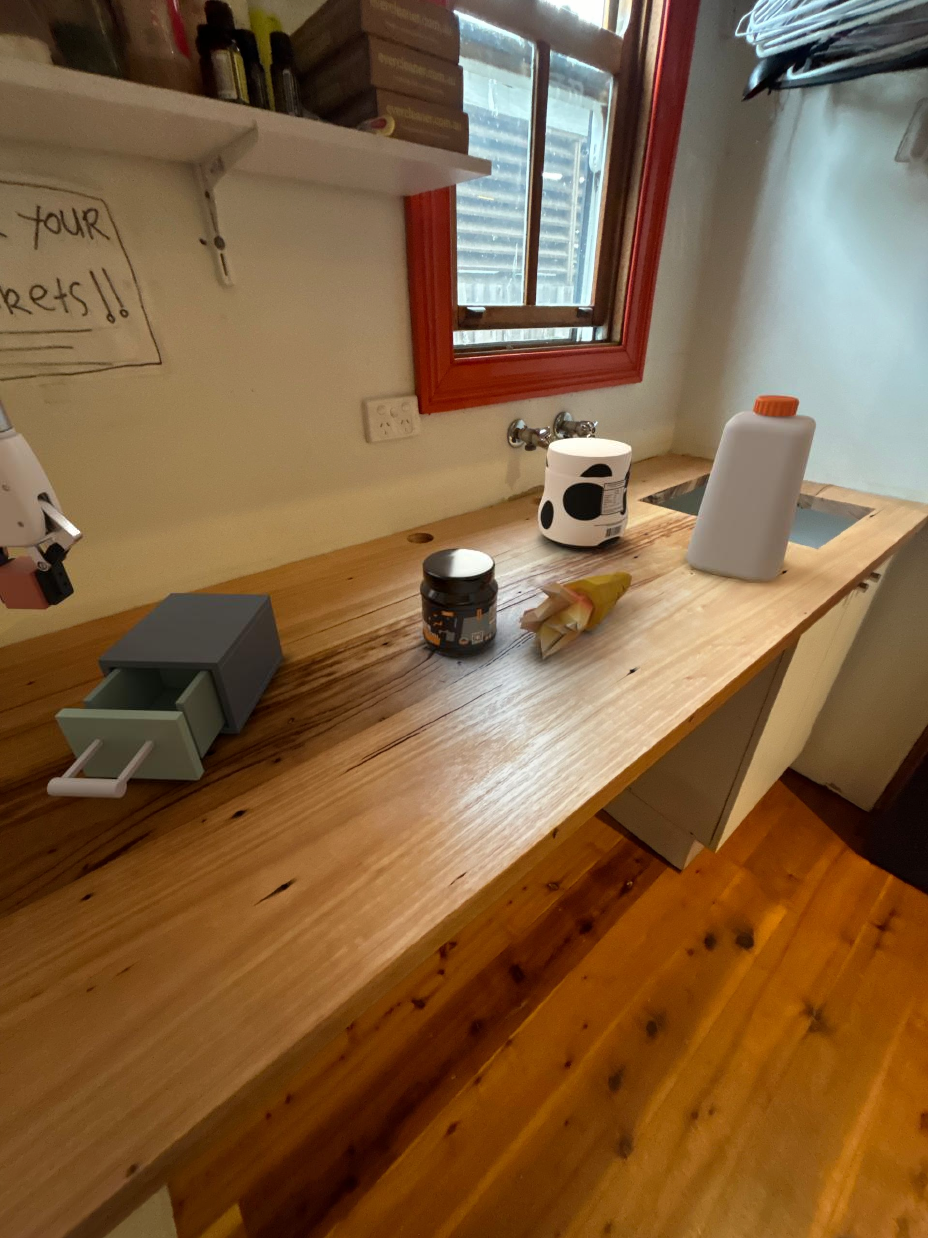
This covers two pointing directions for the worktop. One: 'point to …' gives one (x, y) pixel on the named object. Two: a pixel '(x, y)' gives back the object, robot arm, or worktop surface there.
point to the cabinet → (208, 646)
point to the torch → (573, 609)
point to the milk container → (585, 492)
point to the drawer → (140, 730)
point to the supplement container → (459, 601)
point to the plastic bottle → (753, 492)
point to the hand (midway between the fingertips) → (39, 596)
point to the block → (21, 585)
